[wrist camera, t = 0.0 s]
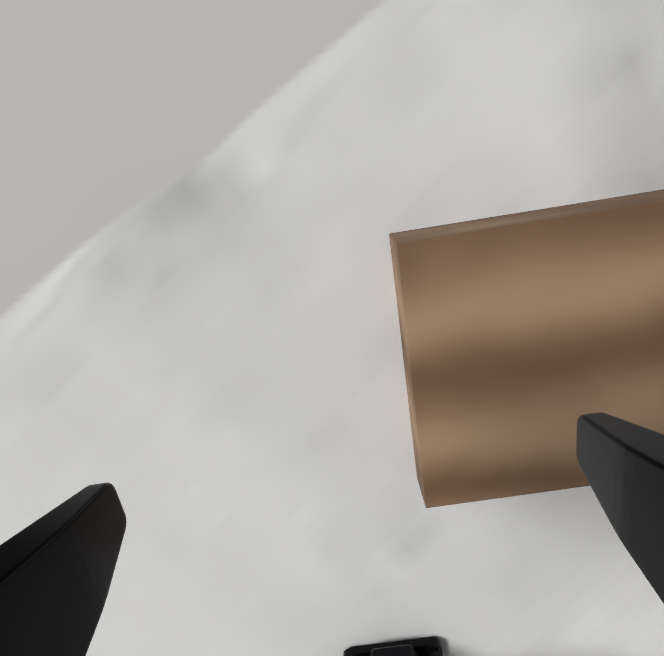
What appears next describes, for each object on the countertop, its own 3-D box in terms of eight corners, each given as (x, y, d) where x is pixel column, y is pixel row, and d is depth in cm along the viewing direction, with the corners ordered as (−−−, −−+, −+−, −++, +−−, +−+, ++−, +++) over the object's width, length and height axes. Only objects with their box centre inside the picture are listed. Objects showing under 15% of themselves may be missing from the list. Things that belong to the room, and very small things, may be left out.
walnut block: (659, 437, 27) (699, 470, 24) (415, 471, 28) (426, 508, 25) (685, 184, 22) (737, 188, 19) (387, 231, 23) (396, 243, 20)
